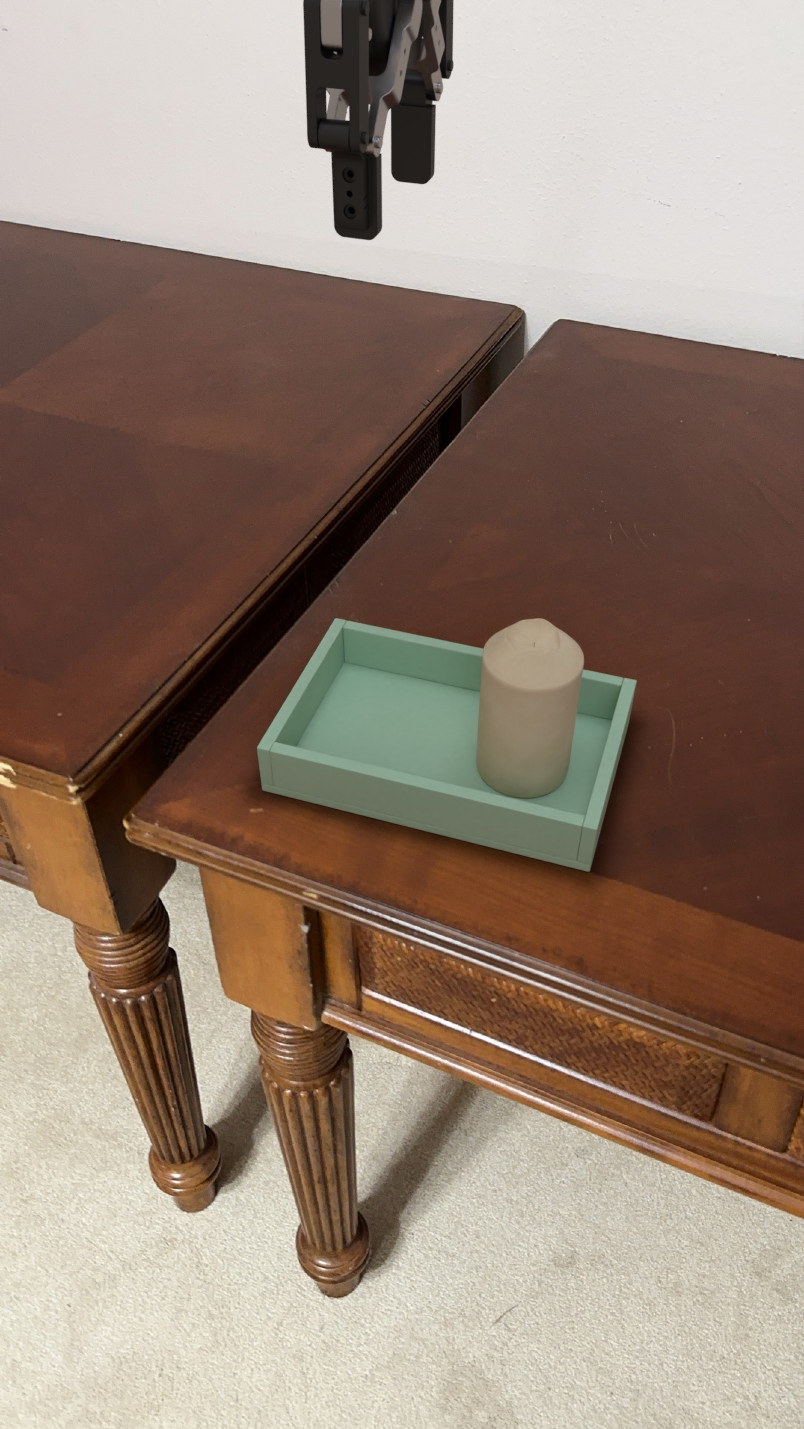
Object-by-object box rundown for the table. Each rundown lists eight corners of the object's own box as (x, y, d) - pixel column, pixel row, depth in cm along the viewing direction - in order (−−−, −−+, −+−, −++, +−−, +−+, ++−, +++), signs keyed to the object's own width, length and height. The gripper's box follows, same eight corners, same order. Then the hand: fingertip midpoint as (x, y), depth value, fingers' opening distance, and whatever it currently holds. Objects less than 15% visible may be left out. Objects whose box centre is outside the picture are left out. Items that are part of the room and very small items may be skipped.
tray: (628, 722, 69) (637, 679, 67) (589, 872, 60) (597, 829, 58) (337, 659, 74) (335, 617, 71) (261, 790, 65) (256, 747, 63)
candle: (572, 799, 64) (592, 668, 57) (477, 799, 64) (486, 668, 57) (563, 733, 68) (581, 603, 61) (474, 733, 68) (481, 603, 61)
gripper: (419, -192, 39) (414, 268, 50) (516, -218, 49) (494, 171, 60) (226, -198, 41) (263, 248, 52) (357, -222, 51) (364, 157, 62)
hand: (387, 206), depth 56 cm, fingers open, 8 cm apart
